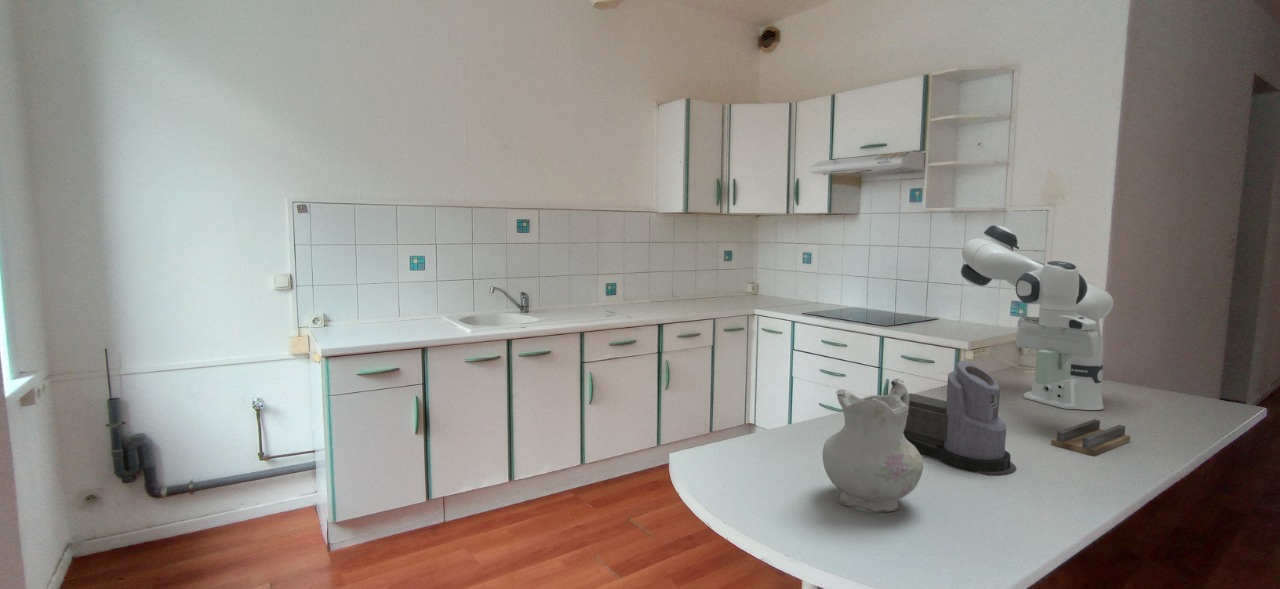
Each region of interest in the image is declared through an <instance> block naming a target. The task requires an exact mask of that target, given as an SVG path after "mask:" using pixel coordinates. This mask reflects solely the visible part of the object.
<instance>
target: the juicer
mask: <svg viewBox="0 0 1280 589" xmlns="http://www.w3.org/2000/svg"><path fill="white" fill-rule="evenodd" d="M1000 387H1001V386H1000V385H999V383H998V381H997V380H996V378H994V377H993V376H992V375H990V374H989V373H988V372H987V371H986V370H984V369H983V368H981V367H979V366H977V365H976V364H973V363H972V362H968V361H965V360H961V361H957V364H956V370H953V371H950V372H949V373H948V374H947V388H946V389H947V390H946V400H943V399H938V398H934V397H931V396H930V397H929V396H925V395H921V394H916V393H912V392H911V393H908V394H909V408H908V416H907V420H906V426H905V429H904V432H903V434H904V436H905V438H906V439H907V440H908V441H909V442H910V443H911V444H913V445H914V446H915V447H916V449H917V450H918V452H919V453H920V455H921V456H924V457H928V458H931V459H935V460H938V461H939V462H941V463H942V464H944V465H947V466H949V467H952V468H953V469H958V470H961V471H966V472H970V473H971V472H972V473H976V474H980V475H984V476H987V477H989V476H990V477H1002V476H1008V475H1011V474H1014V473H1016V471H1017V466H1016V465H1015V464H1014V463H1013V462H1012V461H1011V454H1010V452H1008V451H1007V450H1006V439H1007V424H1006V422H1005V421H1004V420H1003V418H1002V417H1001V416H1000V415H999V405H1000V392H1001V390H1000V389H1001V388H1000Z"/></svg>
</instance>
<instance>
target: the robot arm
mask: <svg viewBox="0 0 1280 589" xmlns="http://www.w3.org/2000/svg"><path fill="white" fill-rule="evenodd" d="M1014 248H1015V249H1017V250H1019V249H1020V247H1019V246H1018V239H1017V235H1016V234H1014V232H1013V231H1012V230H1011V229H1010V228H1007V227H1005V226H1003V225H1002V226H1001V225H990V226H989V227H987V228H986V229H985V230H984V231H983V234H982V235H981V236H980V238H979V237H977V238H973V239H969V240H968V241H967V242H966V243H965V244H964V245H963V247H962V250H961V255H962V258H963V260H964V261H965V262H964V263H963V264H962V265H961V269H960V274H961V277H963V279H964V280H965V281H966V282H967V283H969V284H971V285H975V286H980V287H983V286H987V285H989V283H991V282H992V280H996V281H997V280H999V281H1000V280H1002V281H1005V282H1007V283H1009V284H1010V285H1011V286H1013V287H1015V294H1016V296H1017V298H1018V299H1019V301H1021V303H1024V304H1028V305H1039V311H1038V316H1027V315H1024V316H1022V317H1020V318H1019V319H1018V320H1017V332H1016V336H1015V345H1016V347H1017V348H1022V349H1027V350H1028V349H1029V350H1035V351H1039V350H1044V349H1048V350H1055V351H1058V353H1061V354H1063V358H1065V360H1064V361H1063V362H1062V363H1058V366H1059V367H1058V369H1061V370H1066V369H1067V363H1068V362H1069V361H1070V360H1071V372H1070V379H1068V380H1064V381H1060V382H1056V383H1052V384H1048V385H1044V384H1039V383H1035V381H1034V382H1033V384H1032V388H1031V390H1030V391H1027V392H1024V394H1023V398H1024V399H1027V400H1030V401H1035V402H1038V403H1042V404H1044V405H1045V404H1046V405H1050V406H1052V407H1058V408H1062V409H1065V410H1083V411H1100V410H1104V409H1105V406H1104V402H1103V396H1102V385H1101V384H1102V381H1103V375H1104V374H1103V373H1104V371H1103V370H1104V365H1103V364H1102V361H1103V349H1104V340H1103V337H1102V333H1101V327H1100V320H1102V319H1104V318H1105V317H1106V316H1107V315H1109V314H1110V313H1111V311H1112V309H1114V304H1115V303H1114V299H1113V297H1112V294H1110V293H1109V292H1108V291H1106V290H1105V289H1101V288H1099V287H1097V286H1095V285H1093V284H1089V283H1088V282H1086V280H1085V278H1084V277H1083V276H1082V274H1080V273H1079V270H1078V269H1079V268H1078V267H1077V265H1075V264H1074V263H1072V262H1067V261H1059V260H1058V261H1057V260H1053V261H1047V262H1045V263H1042V262H1039V261H1037V260H1035V259H1033V258H1030V257H1029V256H1027V255H1023V254H1020V253H1017V252H1015V251H1014Z"/></svg>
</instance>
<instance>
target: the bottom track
mask: <svg viewBox="0 0 1280 589" xmlns="http://www.w3.org/2000/svg"><path fill="white" fill-rule="evenodd" d="M1100 426H1101V420H1100V419H1096V418H1094V419H1091V420H1088V421H1085V422H1082V423H1079V424H1075V425H1073V426H1070V427H1067V428H1064V429H1061V430H1058V431H1057V432H1056V433H1057V434H1056V437H1055V438H1054V437H1053V438H1052V439H1051V441H1050V446H1054V447H1057V448H1062V449H1065V450H1069V451H1072V452H1076V453H1081V454H1085V455H1089V456H1092V457H1095V456H1098V455H1100V454H1102V453H1105V452H1107V451H1110V450H1112V449H1115V448H1118V447H1120V446H1122V445H1125V444H1127V443H1130V441H1131V435H1127V434H1125V433H1126V425H1123V424H1118V425H1115V426H1112V427H1109V428H1106V429H1102V428H1101V429H1100Z"/></svg>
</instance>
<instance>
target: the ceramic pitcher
mask: <svg viewBox="0 0 1280 589" xmlns="http://www.w3.org/2000/svg"><path fill="white" fill-rule="evenodd" d="M904 382H905V381H903V380H902V379H900V378H894V379H892V381H891V383H890V384H891V388H890V391H889V393H888V394H887V395H880V394H879V395H876V394H871V395H867V396H865V397H859V396H857V395H856V394H854V393H852V392H849V391H848V392H847V390H846V389H838V390H837V391H835V394H836V395H837V397H836V398H837V401H838V404H839V405H840V407H841V408H842V409H841V410H842V412H843V417H844V425H843V427H842V428H841V429H840V431H838V432H836V433H835V434H833V435H831V436H829V437H828V438H827V439H826V441H825V442H824V443H823V449H822V462H823V468H824V471H825V473H826V475H827V477H828V478H829V480H830V482H831V483H832V484H833V486H835V487H836V488H837V489H838V490H839V491H841V493H840V494H839V495H838V497H837V498H836V499H837V503H838V504H840V505H842V506H846V507H851V508H857V509H862V510H867V511H871V512H875V513H889V512H893V511H894V512H895V511H899V508H900V507H899V503H898V500H900V499H902V498H904V497H906V496H907V495H909V494H910V493H911V492H913V491H914V490H915V488H916V487H917V486H918V484H919V482H920V479H921V478H922V474H923V471H924V461H923V457H922V455H921V454H920V453H919V452H918V450H917V449H916V447H915V446H914V445H913V444H911V443H910V442H909V441H908V440H907V439H906V438H905V436H904V434H903V432H904V429H905V426H906V420H907V416H908V408H909V394H910V393H909V390H908V388H907V387H906V386H905V384H904Z"/></svg>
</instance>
